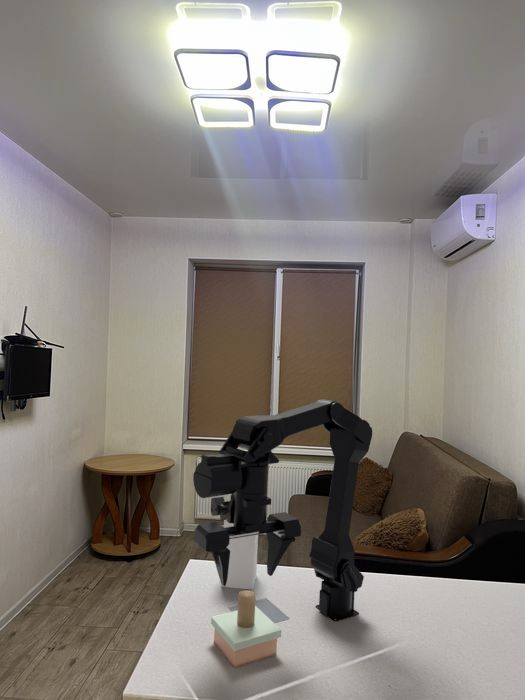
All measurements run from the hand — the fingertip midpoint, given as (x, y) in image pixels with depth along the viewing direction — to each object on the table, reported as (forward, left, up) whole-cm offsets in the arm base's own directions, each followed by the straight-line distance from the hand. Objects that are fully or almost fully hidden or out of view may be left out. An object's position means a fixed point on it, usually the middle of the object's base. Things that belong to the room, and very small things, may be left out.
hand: (247, 579), depth 84 cm
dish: (0, 0, -12) cm, 12 cm away
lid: (0, 0, -9) cm, 9 cm away
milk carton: (-11, -23, -13) cm, 28 cm away
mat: (-8, -9, -12) cm, 17 cm away
